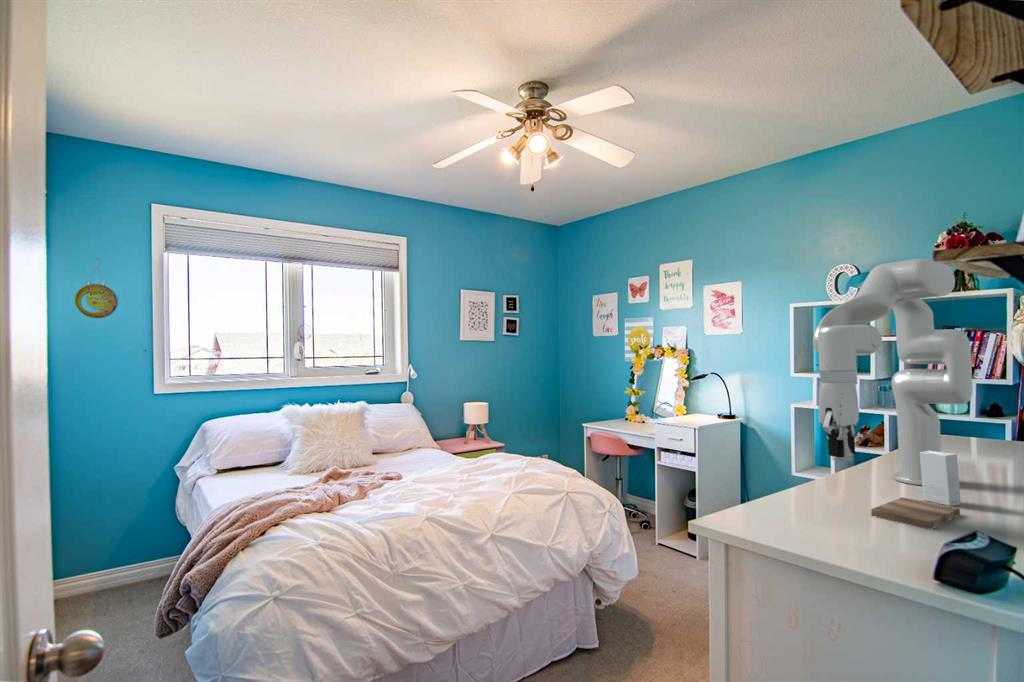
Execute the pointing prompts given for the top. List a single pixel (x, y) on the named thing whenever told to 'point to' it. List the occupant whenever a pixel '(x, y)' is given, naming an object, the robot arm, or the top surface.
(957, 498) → the skincare box
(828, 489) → the top surface
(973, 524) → the top surface
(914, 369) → the robot arm
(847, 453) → the rook chess piece
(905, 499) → the walnut board
